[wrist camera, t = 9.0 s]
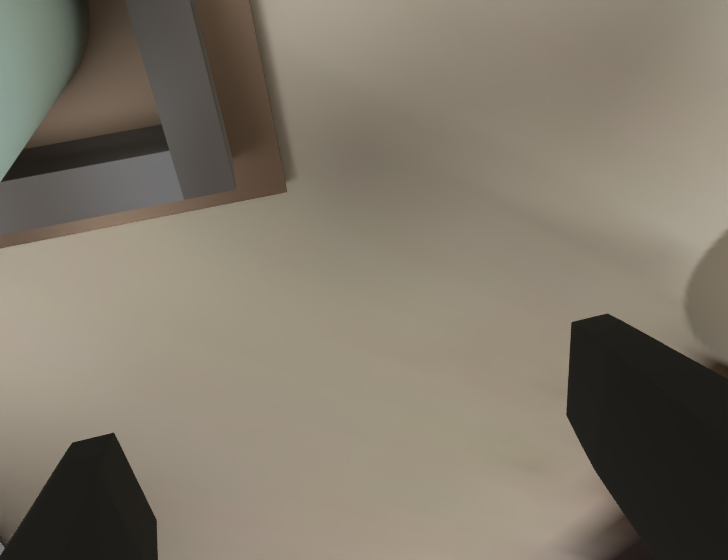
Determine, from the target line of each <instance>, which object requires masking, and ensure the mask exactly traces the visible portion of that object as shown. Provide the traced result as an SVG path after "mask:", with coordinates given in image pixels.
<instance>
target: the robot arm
mask: <svg viewBox="0 0 728 560" xmlns="http://www.w3.org/2000/svg"><path fill="white" fill-rule="evenodd" d="M566 415H567V417H568V419H569V421H570V423H571V425H572V427H573V429H574V431H575V433H576V435H577V437H578V439H579V441H580V443H581V445H582V447H583V449H584V451H585V453H586V455H587V456H588V458H589V460H590V462H591V464H592V466H593V468H594V470H595V471H596V473H597V474H598V476H599V477H600V479H601V480H602V482H603V483H604V485H605V486H606V488H607V489H608V491H609V492H610V494H611V495H612V497H613V498H614V499H615V501H616V502H617V504H618V505H619V507H620V508H621V510H622V511H623V513H624V514H625V516H626V517H627V519H628V520H629V521H630V523H631V524H632V526H633V527H634V529H635V530H636V532H637V533H638V535H639V536H640V537H641V539H642V540H643V542H644V543H645V545H646V546H647V548H648V549H649V550H650V552H651V553H652V555H653V556H654V558H655V559H656V560H728V379H727V378H725V377H723V376H721V375H720V374H718V373H716V372H714V371H712V370H710V369H708V368H706V367H705V366H703V365H701V364H699V363H697V362H695V361H694V360H692V359H690V358H688V357H686V356H684V355H683V354H681V353H679V352H677V351H675V350H674V349H672V348H670V347H668V346H666V345H665V344H663V343H661V342H659V341H657V340H656V339H654V338H652V337H650V336H648V335H647V334H645V333H643V332H641V331H639V330H638V329H636V328H634V327H632V326H630V325H628V324H627V323H625V322H623V321H621V320H619V319H617V318H615V317H613V316H611V315H609V314H604V315H600V316H595V317H591V318H587V319H583V320H579V321H575V322H572V324H571V342H570V359H569V377H568V395H567V413H566ZM0 560H158V553H157V521H156V518H155V516H154V514H153V512H152V510H151V508H150V506H149V504H148V502H147V500H146V497H145V495H144V493H143V491H142V489H141V487H140V485H139V483H138V481H137V479H136V477H135V475H134V473H133V471H132V469H131V467H130V465H129V462H128V460H127V458H126V456H125V454H124V452H123V450H122V448H121V446H120V444H119V442H118V440H117V438H116V436H115V434H114V433H111V434H106V435H102V436H98V437H94V438H90V439H86V440H82V441H77V442H73V443H72V444H71V445H70V447H69V448H68V450H67V451H66V453H65V454H64V456H63V458H62V459H61V461H60V462H59V464H58V465H57V467H56V468H55V470H54V472H53V473H52V475H51V476H50V478H49V480H48V481H47V483H46V484H45V486H44V488H43V489H42V491H41V492H40V494H39V496H38V497H37V499H36V500H35V502H34V503H33V505H32V507H31V508H30V510H29V511H28V513H27V515H26V516H25V518H24V519H23V521H22V522H21V524H20V526H19V527H18V529H17V530H16V532H15V533H14V535H13V536H12V538H11V539H10V541H9V543H8V544H7V546H6V547H5V548H4V546H3V545H2V543H1V542H0Z"/></svg>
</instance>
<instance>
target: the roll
mask: <svg viewBox="0 0 728 560" xmlns="http://www.w3.org/2000/svg"><path fill="white" fill-rule="evenodd" d="M88 34H89V6H88V0H0V182H1V180H2V179H3V177H4V176H5V175H6V173H7V172H8V170H9V169H10V167H11V166H12V164H13V163H14V161H15V160H16V158H17V157H18V156H19V154H20V153H21V151H22V150H23V148H24V147H25V145H26V144H27V142H28V141H29V139H30V138H31V137H32V135H33V134H34V132H35V131H36V129H37V128H38V126H39V125H40V123H41V122H42V120H43V119H44V118H45V116H46V115H47V113H48V112H49V110H50V109H51V107H52V106H53V104H54V103H55V101H56V100H57V99H58V97H59V96H60V94H61V93H62V91H63V90H64V88H65V87H66V85H67V84H68V82H69V81H70V80H71V78H72V77H73V75H74V73H75V72H76V70H77V68H78V66H79V64H80V62H81V60H82V57H83V54H84V51H85V49H86V44H87V39H88Z"/></svg>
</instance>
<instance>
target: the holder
mask: <svg viewBox="0 0 728 560" xmlns="http://www.w3.org/2000/svg"><path fill="white" fill-rule="evenodd" d="M88 6H89V34H88V39H87V44H86V49H85V51H84V54H83V57H82V60H81V62H80V64H79V66H78V68H77V70H76V72H75V73H74V75H73V77H72V78H71V80H70V81H69V82H68V84H67V85H66V87H65V88H64V90H63V91H62V93H61V94H60V96H59V97H58V99H57V100H56V101H55V103H54V104H53V106H52V107H51V109H50V110H49V112H48V113H47V115H46V116H45V118H44V119H43V120H42V122H41V123H40V125H39V126H38V128H37V129H36V131H35V132H34V134H33V135H32V137H31V138H30V139H29V141H28V142H27V144H26V145H25V147H24V148H23V150H22V151H21V153H20V154H19V156H18V157H17V158H16V160H15V161H14V163H13V164H12V166H11V167H10V169H9V170H8V172H7V173H6V175H5V176H4V177H3V179H2V180H1V182H0V248H4V247H9V246H15V245H20V244H25V243H30V242H35V241H40V240H45V239H50V238H55V237H60V236H66V235H71V234H76V233H81V232H86V231H91V230H96V229H101V228H106V227H111V226H117V225H122V224H127V223H132V222H137V221H142V220H147V219H152V218H157V217H162V216H167V215H173V214H178V213H183V212H188V211H193V210H198V209H203V208H208V207H213V206H218V205H224V204H229V203H234V202H239V201H244V200H249V199H254V198H259V197H264V196H269V195H275V194H280V193H285V192H287V188H286V183H285V178H284V173H283V168H282V163H281V158H280V153H279V148H278V143H277V138H276V133H275V128H274V123H273V118H272V113H271V108H270V103H269V98H268V93H267V88H266V83H265V78H264V73H263V68H262V63H261V58H260V53H259V48H258V43H257V38H256V33H255V28H254V23H253V18H252V13H251V8H250V3H249V0H88Z"/></svg>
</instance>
